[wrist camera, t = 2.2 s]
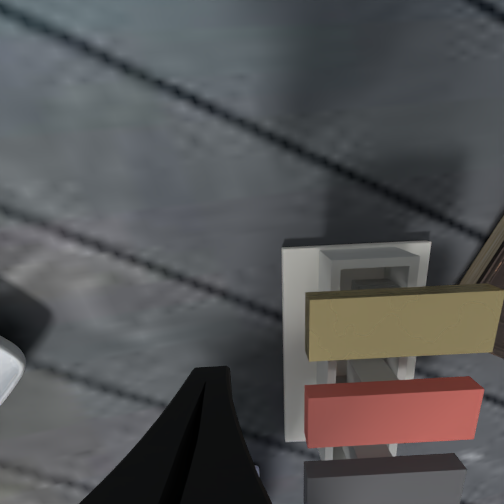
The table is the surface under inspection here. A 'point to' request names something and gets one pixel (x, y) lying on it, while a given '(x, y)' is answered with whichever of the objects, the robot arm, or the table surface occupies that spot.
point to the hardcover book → (491, 275)
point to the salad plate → (10, 367)
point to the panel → (336, 279)
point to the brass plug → (400, 320)
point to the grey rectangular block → (384, 478)
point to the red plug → (389, 408)
